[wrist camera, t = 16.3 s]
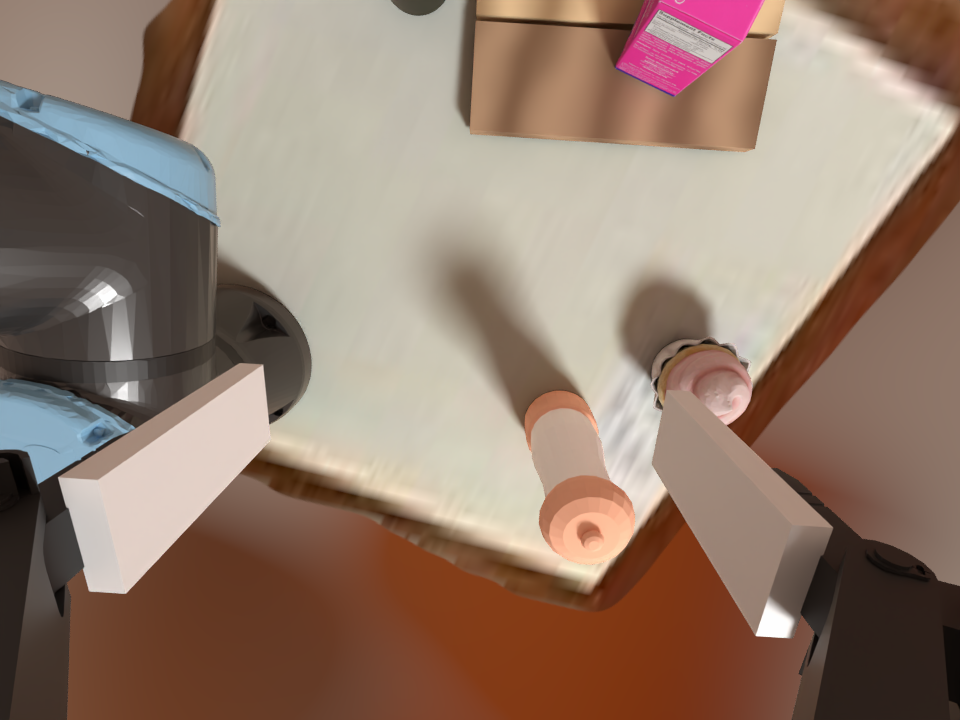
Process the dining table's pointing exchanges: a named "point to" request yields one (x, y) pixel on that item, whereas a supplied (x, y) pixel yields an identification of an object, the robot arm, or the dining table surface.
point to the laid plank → (601, 14)
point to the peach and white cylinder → (576, 481)
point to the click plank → (609, 91)
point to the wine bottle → (418, 6)
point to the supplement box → (684, 39)
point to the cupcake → (704, 375)
